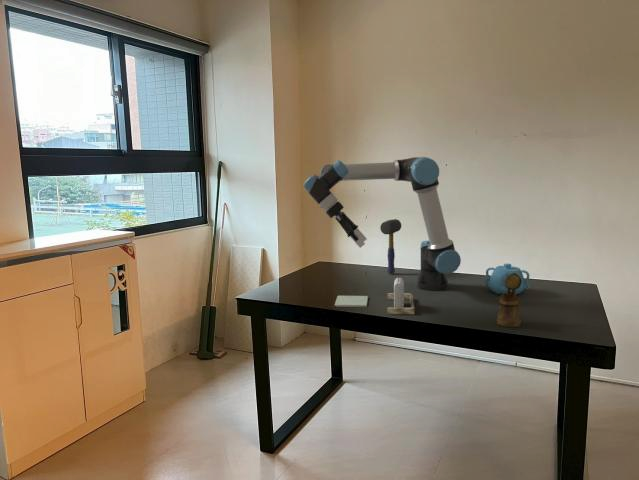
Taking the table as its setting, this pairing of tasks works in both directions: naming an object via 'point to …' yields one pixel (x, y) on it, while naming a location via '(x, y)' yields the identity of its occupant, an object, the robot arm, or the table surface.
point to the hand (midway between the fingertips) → (363, 243)
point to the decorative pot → (499, 277)
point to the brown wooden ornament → (510, 303)
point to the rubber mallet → (390, 240)
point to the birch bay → (401, 310)
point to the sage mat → (351, 301)
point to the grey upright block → (398, 293)
